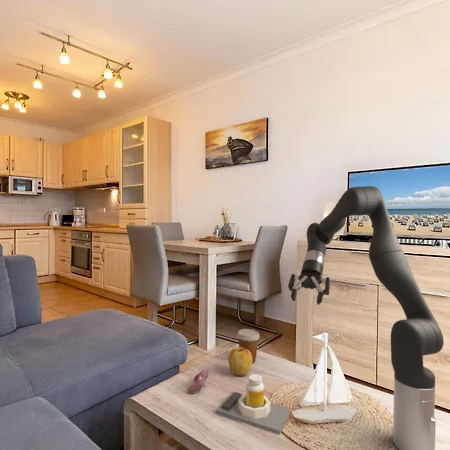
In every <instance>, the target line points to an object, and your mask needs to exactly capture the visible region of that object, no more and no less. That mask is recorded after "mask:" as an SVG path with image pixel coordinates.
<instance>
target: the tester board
mask: <svg viewBox="0 0 450 450" xmlns="http://www.w3.org/2000/svg"><path fill="white" fill-rule="evenodd" d="M290 408H291V407H288V406H285V405H280V404H277V403H273V402H271V401H270V400H269V398H268V397H267V396H266V395H265V394H264V407H259V408H252V407H249V406H246V393H244V394H243V393H241V392H237V391H232V392H231V393H230V394H229V395H228V397H226V398H225V400H224V401H223V402H221V404H220V405H219V406H218V407H217V408H216V409H215V414H217V415H220V416H223V417H227V418H229V419H232V420H234V421H235V420H236V421H238V422H241V423H244V424H247V425H249V426H252V427H253V426H254V427H257V428H259V429H262V430H266V431H268V432H271V433H275V434H278V435H281V434H282V432H283V429H284V428H285V426H286V424H287V422H288V420H287V418H288V416H289V414H290ZM290 415H291V414H290ZM289 417H290V416H289ZM288 419H289V418H288ZM286 421H287V422H286ZM285 423H286V424H285ZM284 425H285V426H284Z"/></svg>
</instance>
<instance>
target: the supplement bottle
mask: <svg viewBox="0 0 450 450" xmlns="http://www.w3.org/2000/svg"><path fill="white" fill-rule="evenodd" d="M245 386H246V387H245V390H246V391H245V392H246V393H245V394H246V406H249V407H252V408H259V407H264V395H265V385H264V383H263V377H262V376H261V375H260V374H257V373H256V374H255V373H253V374H250V375H248V382H247V383H246V385H245Z"/></svg>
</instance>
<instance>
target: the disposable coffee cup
mask: <svg viewBox="0 0 450 450" xmlns="http://www.w3.org/2000/svg"><path fill="white" fill-rule="evenodd" d="M260 335H261V334H260V332H259V331H257V330H256V329H251V328H243V329H239V330H238V331H237V333H236V337H237V341H238V342H237V343H238V347H243V348H246V349H247V350H249V351H250V352H251V355H252V365H253V364H255V363H256V359H257V352H258V346H259V339H260V338H261V336H260Z"/></svg>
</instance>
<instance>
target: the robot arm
mask: <svg viewBox="0 0 450 450" xmlns="http://www.w3.org/2000/svg"><path fill="white" fill-rule="evenodd" d="M351 216H368V218H369V219H370V222H371V224H372V225H371V227H372V229H373V230H372V235H371V237H372V238H371V241H370V244H369V248H368V258H369V261H370V264H371V266H372V269H373V272H374V274H375V277H377V279H378V281H379V282H380V283H381V284H382V285H383V286H384V287H385V289H386V290H388V292H389V293H390V294H391V295H392V296H393V297H394V298H395V300H397V302H398V303H399V305H400V306H401V309H402V310H403V313H404V315H405V317H406V319H405V318H404V319H400V320H397V321H395V322H394V323H393V325H392V327H391V330H390V331H391V332H390V361H391V366H392V370H393V372H394V375H393V377H394V379H393V413H392V415H393V416H392V417H393V418H392V442H393V441H394V442H395V444H396V445H397V447H396V448H397V449H398V450H436V423H437V422H436V417H435V410H436V409H435V405H436V403H435V402H436V376H435V374H434V372H433V370H430V369H429V368H427V367H425V366H424V356H430V355H435V354H438V353H440V352H441V351H442V349H443V348H444V337H443V336H444V335H443V333H442V330H441V328H440V325H439V323H438V322H437V320H436V318H435V316H434V314H433V313H432V310H431V309H430V308H429V305H428V303H427V302H426V300H425V298H424V296H423V294H422V292H421V290H420V287H419V285H418V283H417V281H416V278H415V277H414V274H413V272H412V270H411V268H410V264H409V262H408V259H407V258H406V255H405V252H404V251H403V248H402V246H401V244H400V242H399V239H398V237H397V234H396V231H395V229H394V227H393V225H392V221H391V219H390V214H389V211H388V208H387V204H386V201H385V199H384V196H383V194H382V191H381V190H380V189H379V188H378V187H376V186H373V185H367V186H366V185H365V186H351V187H349V188H347V190H346V191H344V192H343V194H342V195H341V196H340V198H339V200H338V201H337V203H336V204H335V206H334V207H333V209H332V210H331V212H330V213H329V214H328V215H327V216H325V217H324V218H323V219H322V220H321V221H320V222H319V223H317V222H313V223H311V224H310V225H308V226H307V230H306V240H307V242H306V243H307V249H306V253H305V256H304V260H303V263H302V267H301V272H300V274H299V275H295V273H292V274H291V275H290V279H289V280H288V281H289V282H288V285H287V287H288V289H289V290H288V291H291V294H290V298H291V301H292V302H296V300H297V294H298V293H297V292H299V291H302V290H303V289H309V290H314V289H315V290H316V292H317V298H316V305H320V304H321V303H323V297H324V296H329V295H330V290H331V289H330V288H331V279H330V277H326V278H323V273H324V267H325V257H326V252H327V247H326V245H329V244H330V243H332V240H333V238H334V236H335V235H336V234H337V233H338V232H340V230H342V229H343V228H344V227H345V225H346V222H347V219H346V218H348V217H351ZM322 283H323V285H324V289H323V288H322V287H321V284H322ZM394 442H393V443H394ZM395 444H394V445H395ZM396 445H395V446H396Z"/></svg>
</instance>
